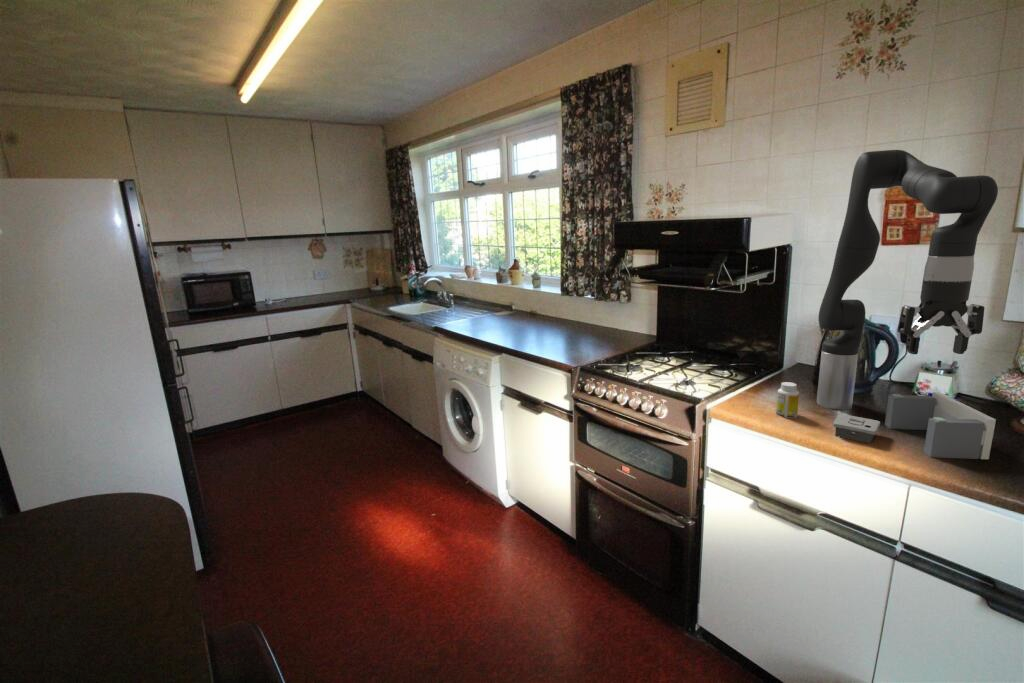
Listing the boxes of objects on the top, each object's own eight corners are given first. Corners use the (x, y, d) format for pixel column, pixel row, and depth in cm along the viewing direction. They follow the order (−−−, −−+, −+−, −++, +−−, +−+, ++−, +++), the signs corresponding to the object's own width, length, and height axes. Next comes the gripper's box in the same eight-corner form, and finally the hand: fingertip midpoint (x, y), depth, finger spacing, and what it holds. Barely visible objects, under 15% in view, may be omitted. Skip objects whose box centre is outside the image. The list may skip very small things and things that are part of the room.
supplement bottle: (798, 415, 143) (801, 383, 141) (794, 421, 139) (797, 388, 137) (778, 411, 147) (780, 380, 144) (773, 417, 143) (776, 384, 140)
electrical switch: (876, 432, 120) (834, 417, 126) (869, 450, 122) (828, 434, 128) (882, 421, 127) (841, 408, 133) (875, 438, 129) (835, 424, 135)
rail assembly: (884, 425, 133) (889, 391, 131) (933, 426, 131) (939, 392, 129) (930, 457, 115) (936, 418, 112) (988, 459, 112) (996, 419, 110)
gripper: (973, 274, 101) (960, 349, 104) (897, 277, 103) (887, 349, 107) (1002, 278, 93) (987, 358, 97) (919, 281, 96) (908, 358, 100)
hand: (934, 353), depth 102 cm, fingers open, 8 cm apart
